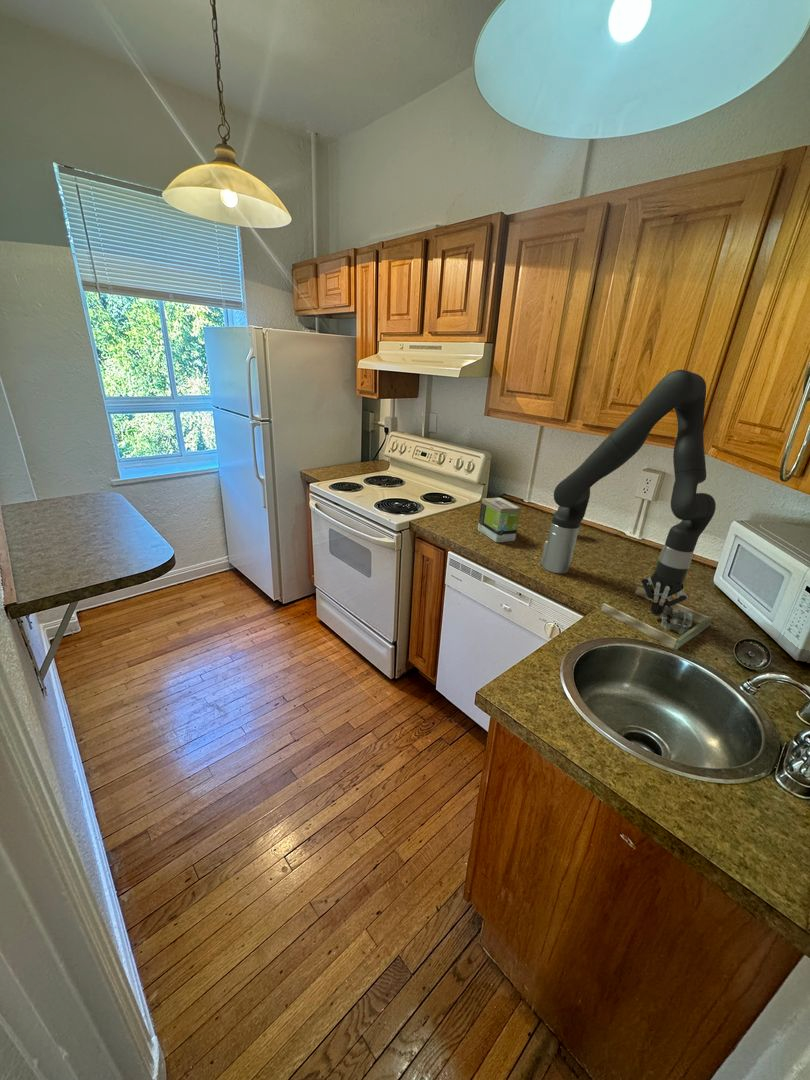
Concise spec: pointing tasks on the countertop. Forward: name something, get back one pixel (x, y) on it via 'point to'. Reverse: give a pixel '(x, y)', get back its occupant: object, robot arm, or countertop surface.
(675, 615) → the egg carton
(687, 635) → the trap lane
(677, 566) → the robot arm
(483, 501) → the tea box
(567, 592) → the countertop surface
